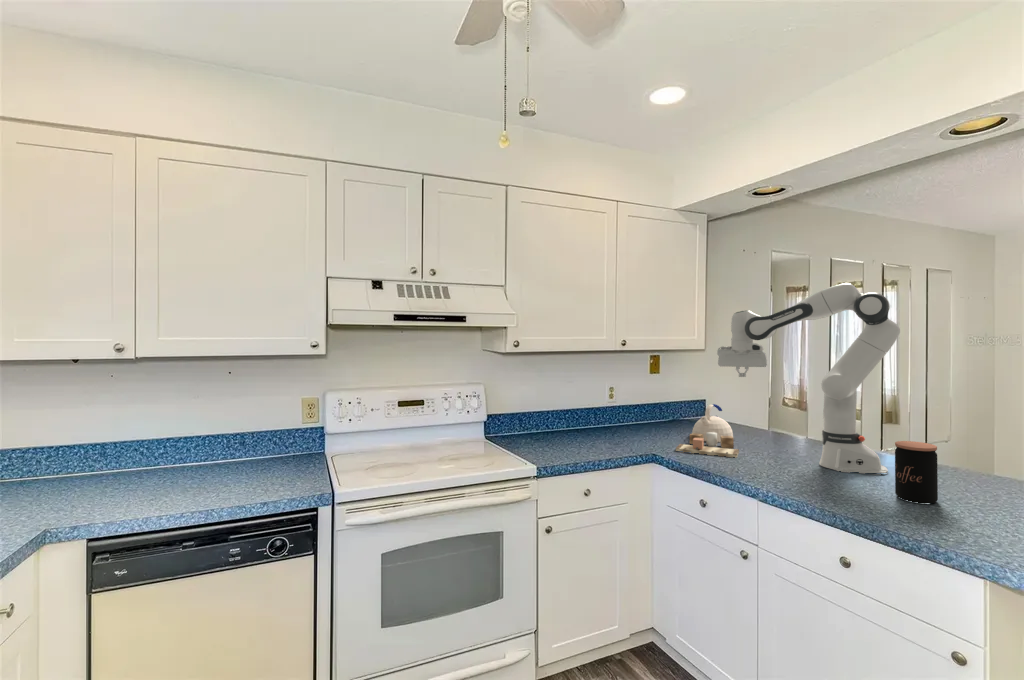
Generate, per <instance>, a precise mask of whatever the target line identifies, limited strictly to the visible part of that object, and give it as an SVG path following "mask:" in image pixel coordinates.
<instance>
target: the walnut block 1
mask: <svg viewBox="0 0 1024 680" xmlns="http://www.w3.org/2000/svg"><path fill="white" fill-rule="evenodd" d="M694 438H703V434H697V433H692V432H691V433H689V445H690V444H693V439H694Z"/></svg>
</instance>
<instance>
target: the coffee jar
mask: <svg viewBox="0 0 1024 680" xmlns="http://www.w3.org/2000/svg"><path fill="white" fill-rule="evenodd" d="M894 446H895V447H896V448H895V450H894V474H895V476H894V478H895V481H894V485H895V487H894V488H895V490H894V491H895V492H894V494H895V495H896V496H897V498H898V497H900V498H902V499H904V500H908V501H912V502H918V503H934V504H936V502H937V501H938V500H939V497H938V495H939V493H938V491H939V490H938V488H939V486H938V481H939V479H938V476H939V475H938V453H937V452H936V451H937V450H938V445H935V444H932V443H927V442H922V441H911V440H900V441H899V440H898V441H895V442H894ZM904 500H903V501H904Z"/></svg>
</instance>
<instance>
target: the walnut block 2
mask: <svg viewBox="0 0 1024 680" xmlns="http://www.w3.org/2000/svg"><path fill="white" fill-rule="evenodd" d="M734 439H735V438H734V436H733V437H732V436H721V442H720V446H721V447H720V448H727V449H733V448H734V447H735V446H734V444H735V443H734V442H735V441H734ZM734 449H735V448H734Z"/></svg>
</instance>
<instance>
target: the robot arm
mask: <svg viewBox="0 0 1024 680" xmlns="http://www.w3.org/2000/svg"><path fill="white" fill-rule="evenodd" d="M890 308H891V305H890V301H889V300H888V299H887V297H886V296H885V295H883V294H881V293H879V292H874V291H873V292H865V293H861V292H860V291H859V289H858V288H857V287H856V286H855V285H854V284H852V283H849V282H844V283H840V284H836V285H833V286H829V287H826V288H824V289H820V290H818V291H816V292H814V293H813V294H811V295H809V296H807V297H806V298H803V299H802V300H800V301H799V302H797V303H796V304H794V305H792V306H790V307H788V308H785V309H782V310H781V311H777V312H775V313H772V314H770V315H766V316H763V315H762V316H761V315H759V314H756V313H754V312H752V311H751V310H748V309H747V310H745V309H744V310H741V311H737V312H735V313H734V312H733V314H732V316H731V322H730V323H731V324H730V325H731V326H730V329H731V330H730V331H731V340H730V341H731V345H730V346H720V347H718V348H717V350H716V351H717V353H716V354H717V356H718V357H717V358H718V359H717V364H718V366H719V367H722V368H723V367H724V368H725V367H727V368H728V367H730V368H732V367H734V368H735V370H736V371H737V373H738V378H746V377H747V373H748V371H749V368H766V367H768V358H767V354H766V351H764V349H765V347H764V345H763V344H758V343H754V342H753V341H762V340H768V339H770V338H772V337H773V336H774V335H775V334H776V333H777V330H778V329H780V328H783V327H785V326H788V325H791V324H793V323H797V322H803V321H815V320H821V319H825V318H828V317H830V316H834V315H837V314H839V313H841V312H844V311H852V312H854V313H855V314H856V316H857V317H858V318H859V319H861V320H862V321H863V322H864V323H865V327H864V328H863V330H862V332H861V333H860V334H859V335H858V336H857V337H856V339H855V340H853V342H852V344H851V345H850V346H849V347H848V348H847V350H846V351H845V352H844V353H843V354H842V356H841V357H840V358H839V359H838V360H837V362H835V364H834V365H833V366H832V368H831V369H830V370H829V371H828V372H827V374H826V375H825V376H824V377H823V378H822V381H821V383H820V384H821V390H822V391H823V394H824V395H823V413H822V415H823V416H822V417H823V418H822V419H823V421H822V422H823V428H822V429H823V430H822V431H821V432H822V433H821V443H822V450H821V457H820V460H819V462H818V464H819V466H821V467H824V468H827V469H831V470H834V471H837V472H839V471H841V472H840V473H850V472H859V473H858V474H865V473H887V472H888V473H889V470H888V468H887V467H886V466H884V465H882V463H881V459H880V457H879V455H878V453H876V452H875V451H874V450H873V449H871V448H870V447H868V446H867V445H866V444H864V443H863V442H865V440H866V437H864V436H863V435H861V434H860V433H858V432H857V389H858V388H859V387H860V385H861V384H862V383H863V382H864V380H866V378H867V377H868V376H869V375H870V374H871V373H872V371H873V370H874V368H875V367H877V365H878V364H879V363H880V361H881V360H883V358H884V357H885V356H886V354H887V353H889V351H890V350H891V349H892V347H893V346H894V344H895V343H896V341H897V339H898V337H899V336H900V333H901V327H899V325H898V324H897V323H896V322H894V321H893V320H891V319H890V318H889V312H890ZM740 368H744V370H745V371H744V372H741V371H740ZM888 473H887V474H888Z"/></svg>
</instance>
